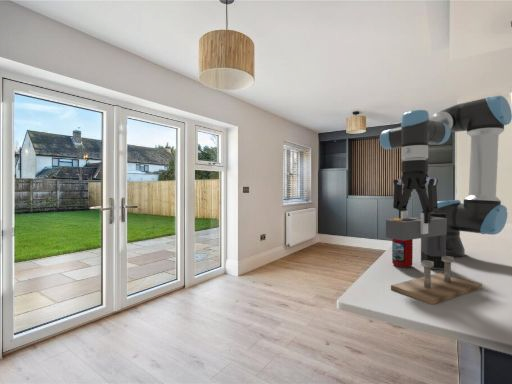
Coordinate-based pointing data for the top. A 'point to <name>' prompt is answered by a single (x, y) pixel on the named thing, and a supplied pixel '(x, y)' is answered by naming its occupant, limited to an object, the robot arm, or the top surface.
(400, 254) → the beverage can
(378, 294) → the top surface
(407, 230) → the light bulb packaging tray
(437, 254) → the electronic device
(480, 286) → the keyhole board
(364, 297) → the top surface
